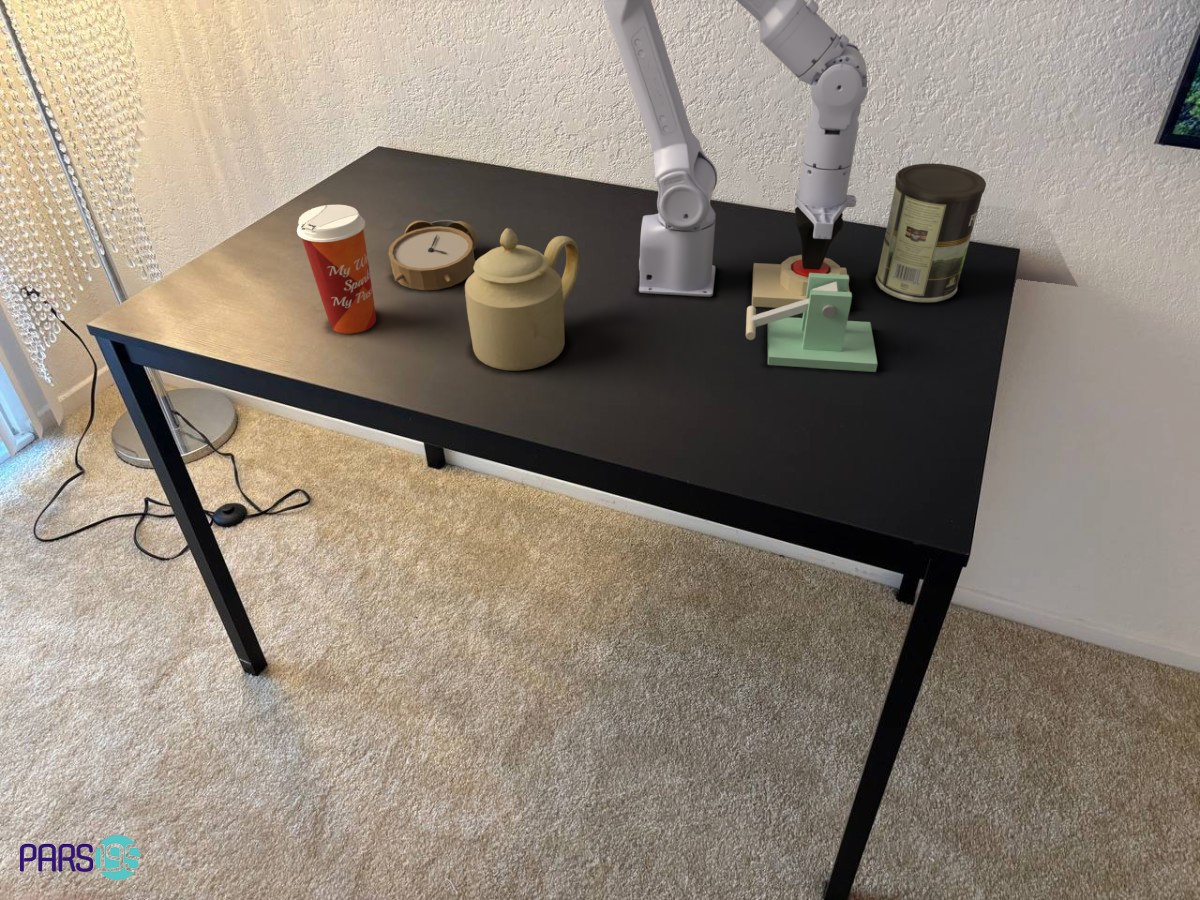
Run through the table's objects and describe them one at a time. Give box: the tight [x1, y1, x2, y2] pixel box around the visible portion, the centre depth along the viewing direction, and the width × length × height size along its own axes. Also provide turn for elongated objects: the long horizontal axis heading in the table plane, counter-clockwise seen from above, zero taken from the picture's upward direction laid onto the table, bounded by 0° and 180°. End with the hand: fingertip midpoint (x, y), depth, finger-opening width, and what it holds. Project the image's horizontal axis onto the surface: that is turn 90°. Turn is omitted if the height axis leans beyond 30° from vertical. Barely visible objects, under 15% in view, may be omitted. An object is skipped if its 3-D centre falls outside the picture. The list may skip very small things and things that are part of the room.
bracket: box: [767, 273, 878, 373], centre depth 98 cm, size 12×9×8 cm
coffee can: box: [875, 162, 987, 304], centre depth 108 cm, size 10×10×14 cm
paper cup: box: [296, 204, 377, 335], centre depth 103 cm, size 8×8×14 cm
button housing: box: [751, 254, 852, 312], centre depth 110 cm, size 12×9×4 cm
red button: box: [793, 260, 829, 277], centre depth 109 cm, size 4×4×2 cm
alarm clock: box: [387, 219, 478, 291], centre depth 118 cm, size 11×5×15 cm
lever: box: [745, 282, 840, 341], centre depth 98 cm, size 11×6×2 cm, turn 80°
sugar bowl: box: [464, 227, 581, 372], centre depth 99 cm, size 15×11×15 cm
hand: (811, 267), depth 109 cm, fingers closed, pressing on red button
